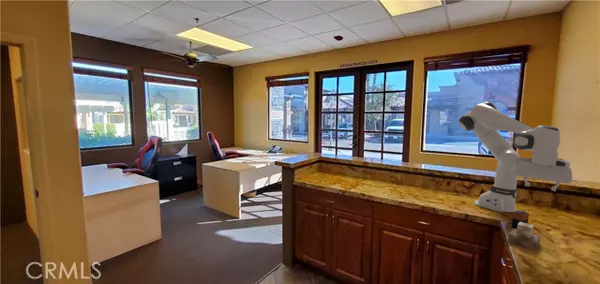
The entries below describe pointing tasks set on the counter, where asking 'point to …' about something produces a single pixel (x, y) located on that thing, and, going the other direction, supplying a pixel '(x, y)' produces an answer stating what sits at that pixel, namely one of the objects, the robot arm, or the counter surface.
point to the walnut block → (524, 240)
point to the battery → (519, 218)
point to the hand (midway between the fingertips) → (539, 188)
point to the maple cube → (525, 229)
